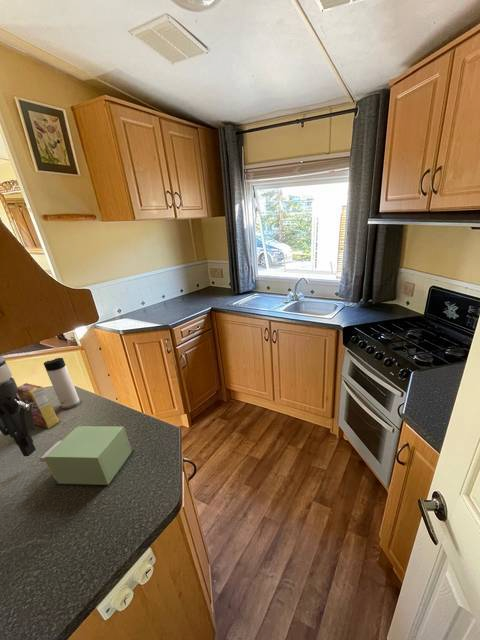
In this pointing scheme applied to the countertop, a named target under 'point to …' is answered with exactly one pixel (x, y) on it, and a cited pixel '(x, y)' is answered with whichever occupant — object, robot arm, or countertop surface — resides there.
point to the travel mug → (62, 383)
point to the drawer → (47, 453)
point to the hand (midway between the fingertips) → (29, 452)
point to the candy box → (38, 404)
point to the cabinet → (89, 455)
